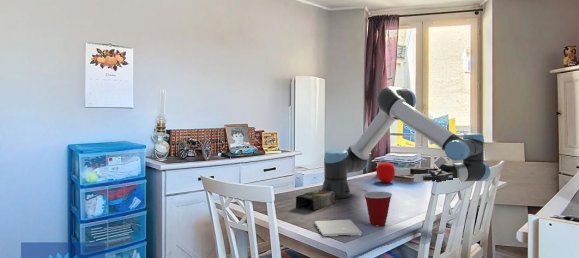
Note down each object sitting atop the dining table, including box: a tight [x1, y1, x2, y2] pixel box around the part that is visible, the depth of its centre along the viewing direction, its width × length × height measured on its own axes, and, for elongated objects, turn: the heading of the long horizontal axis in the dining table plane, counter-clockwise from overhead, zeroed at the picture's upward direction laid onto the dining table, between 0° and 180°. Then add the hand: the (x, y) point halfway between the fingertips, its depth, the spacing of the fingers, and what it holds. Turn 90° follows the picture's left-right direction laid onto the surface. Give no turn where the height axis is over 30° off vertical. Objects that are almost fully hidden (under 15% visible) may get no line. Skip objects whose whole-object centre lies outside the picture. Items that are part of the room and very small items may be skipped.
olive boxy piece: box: [295, 189, 336, 211], centre depth 160 cm, size 20×10×6 cm, turn 143°
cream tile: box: [314, 219, 363, 237], centre depth 127 cm, size 14×14×1 cm
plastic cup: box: [362, 191, 393, 227], centre depth 133 cm, size 11×11×12 cm
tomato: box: [376, 161, 396, 183], centre depth 211 cm, size 11×11×13 cm
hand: (404, 175), depth 134 cm, fingers open, 13 cm apart
